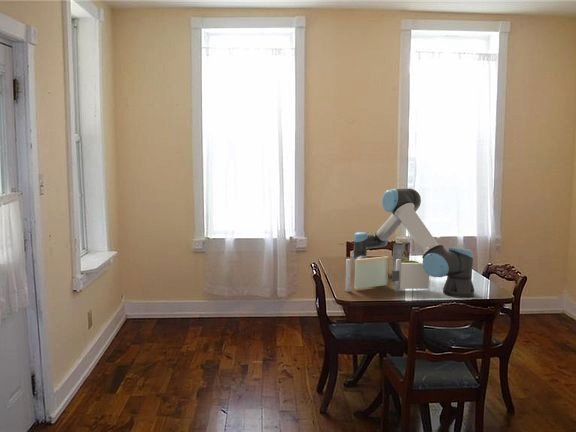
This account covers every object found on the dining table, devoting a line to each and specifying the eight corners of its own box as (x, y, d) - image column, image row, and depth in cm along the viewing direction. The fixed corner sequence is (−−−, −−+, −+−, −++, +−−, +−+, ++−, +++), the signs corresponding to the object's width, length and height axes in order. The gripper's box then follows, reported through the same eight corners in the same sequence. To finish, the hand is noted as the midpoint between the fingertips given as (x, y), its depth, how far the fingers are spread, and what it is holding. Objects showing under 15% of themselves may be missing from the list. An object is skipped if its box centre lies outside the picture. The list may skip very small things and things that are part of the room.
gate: (356, 289, 288) (357, 260, 286) (354, 288, 289) (355, 259, 287) (387, 284, 298) (388, 256, 296) (385, 284, 299) (386, 256, 297)
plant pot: (418, 280, 314) (419, 264, 313) (401, 278, 316) (402, 263, 315) (418, 276, 323) (419, 261, 322) (401, 275, 325) (402, 260, 324)
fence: (429, 291, 291) (431, 260, 289) (346, 292, 285) (347, 260, 283) (427, 289, 294) (428, 258, 292) (344, 290, 289) (345, 259, 287)
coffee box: (399, 267, 345) (400, 240, 343) (409, 269, 341) (410, 242, 338) (391, 269, 338) (393, 242, 336) (401, 271, 334) (402, 244, 332)
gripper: (375, 270, 320) (387, 280, 297) (351, 270, 318) (362, 280, 295) (376, 256, 319) (388, 266, 296) (352, 256, 317) (363, 266, 294)
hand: (375, 273), depth 296 cm, fingers closed
